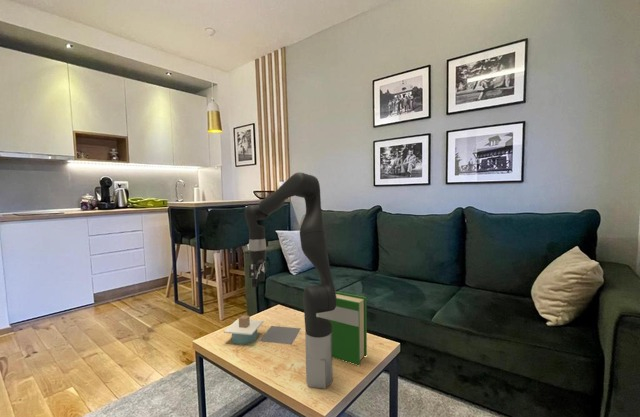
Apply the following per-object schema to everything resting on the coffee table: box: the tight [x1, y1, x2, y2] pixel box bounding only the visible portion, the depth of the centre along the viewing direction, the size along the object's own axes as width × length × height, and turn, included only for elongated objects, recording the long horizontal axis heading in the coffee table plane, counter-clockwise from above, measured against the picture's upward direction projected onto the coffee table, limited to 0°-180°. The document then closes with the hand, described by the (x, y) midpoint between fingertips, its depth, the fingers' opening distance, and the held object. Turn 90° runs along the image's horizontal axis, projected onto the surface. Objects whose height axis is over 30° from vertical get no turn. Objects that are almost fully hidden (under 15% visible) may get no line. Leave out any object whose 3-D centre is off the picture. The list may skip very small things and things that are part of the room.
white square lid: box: [223, 314, 265, 335], centre depth 130 cm, size 13×13×5 cm
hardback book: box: [319, 290, 368, 366], centre depth 116 cm, size 18×7×24 cm, turn 58°
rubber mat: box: [259, 325, 302, 345], centre depth 133 cm, size 15×15×1 cm
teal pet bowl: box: [231, 329, 258, 346], centre depth 130 cm, size 11×11×6 cm
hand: (258, 283), depth 132 cm, fingers open, 8 cm apart
